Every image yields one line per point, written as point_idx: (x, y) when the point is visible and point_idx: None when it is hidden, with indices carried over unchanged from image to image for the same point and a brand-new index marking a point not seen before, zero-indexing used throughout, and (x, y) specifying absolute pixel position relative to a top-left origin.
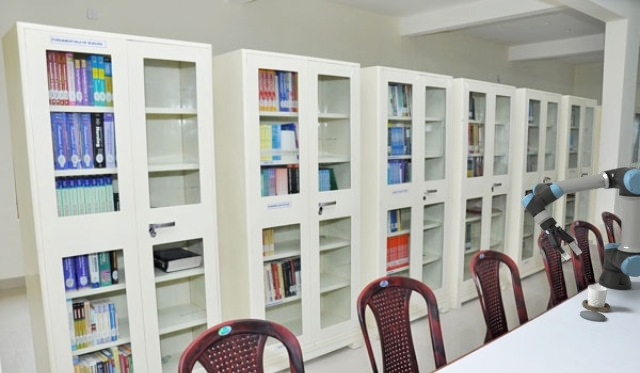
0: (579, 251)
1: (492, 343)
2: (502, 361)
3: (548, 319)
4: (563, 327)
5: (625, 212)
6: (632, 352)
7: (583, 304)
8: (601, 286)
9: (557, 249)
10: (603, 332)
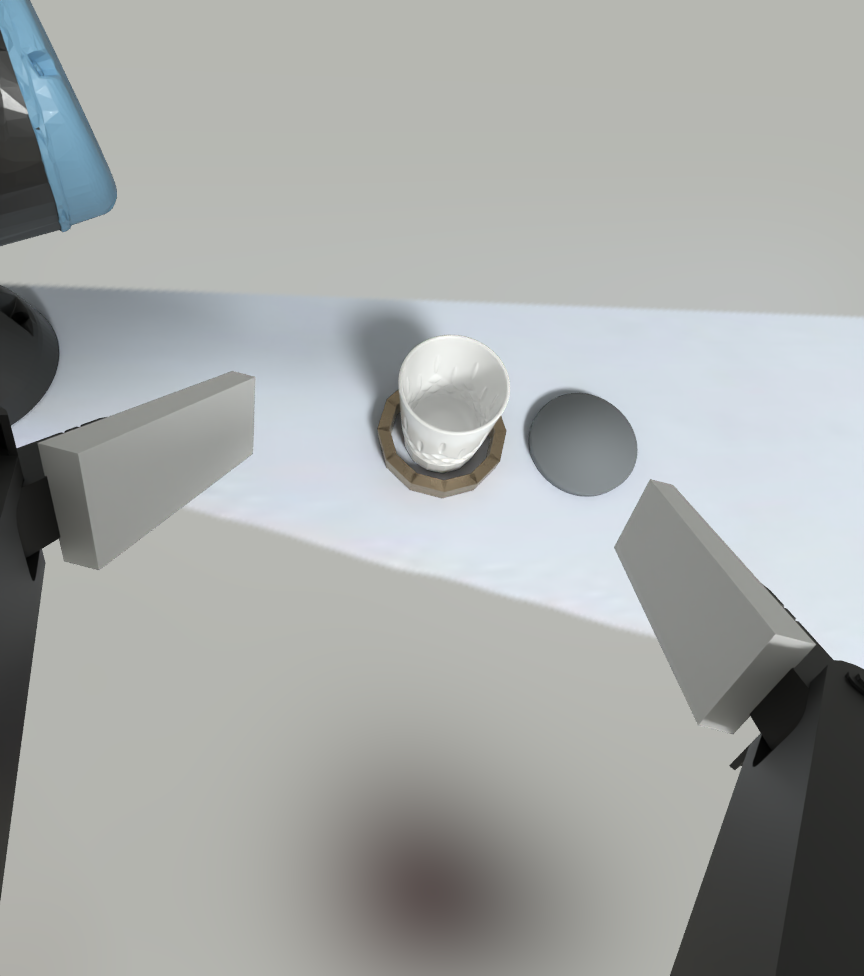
0: (237, 403)
1: None
2: None
3: None
4: (797, 544)
5: None
6: (821, 320)
7: (470, 487)
8: (406, 364)
9: (729, 721)
10: (723, 401)
